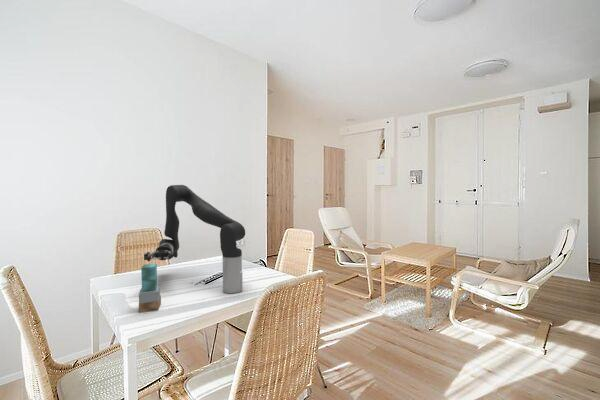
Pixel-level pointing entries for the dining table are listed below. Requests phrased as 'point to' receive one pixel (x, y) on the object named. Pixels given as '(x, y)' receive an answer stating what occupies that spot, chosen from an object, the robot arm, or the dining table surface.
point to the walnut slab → (150, 306)
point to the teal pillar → (149, 277)
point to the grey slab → (149, 296)
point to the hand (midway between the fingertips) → (158, 258)
